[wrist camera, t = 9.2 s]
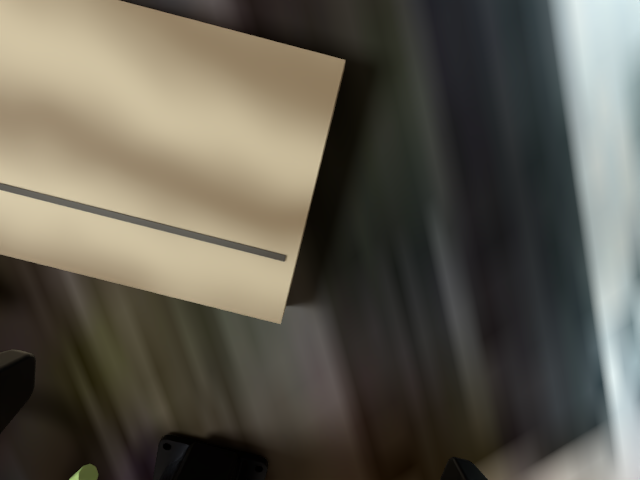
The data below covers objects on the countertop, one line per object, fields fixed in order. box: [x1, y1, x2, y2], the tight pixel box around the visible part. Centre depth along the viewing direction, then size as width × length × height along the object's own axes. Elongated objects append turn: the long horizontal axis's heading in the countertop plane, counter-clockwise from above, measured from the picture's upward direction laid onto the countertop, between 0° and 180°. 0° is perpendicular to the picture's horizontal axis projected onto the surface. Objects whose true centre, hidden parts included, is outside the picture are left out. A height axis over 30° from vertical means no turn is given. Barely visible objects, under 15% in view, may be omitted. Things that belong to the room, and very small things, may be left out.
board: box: [0, 0, 345, 324], centre depth 18 cm, size 12×28×2 cm, turn 76°
